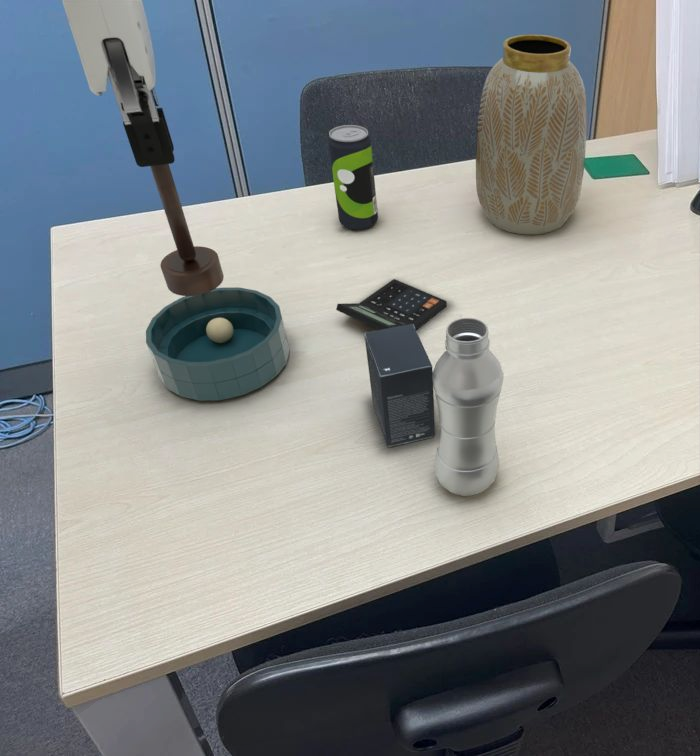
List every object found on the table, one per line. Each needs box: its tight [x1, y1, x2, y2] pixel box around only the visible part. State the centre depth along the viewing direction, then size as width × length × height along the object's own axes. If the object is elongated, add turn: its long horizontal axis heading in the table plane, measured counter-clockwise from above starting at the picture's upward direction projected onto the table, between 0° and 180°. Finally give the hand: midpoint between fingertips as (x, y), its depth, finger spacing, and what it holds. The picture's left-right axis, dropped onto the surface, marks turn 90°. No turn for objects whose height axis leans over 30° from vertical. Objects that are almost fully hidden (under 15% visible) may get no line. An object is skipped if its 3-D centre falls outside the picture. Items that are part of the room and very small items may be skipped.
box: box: [363, 324, 436, 448], centre depth 77 cm, size 8×6×11 cm
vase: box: [475, 34, 588, 236], centre depth 109 cm, size 17×17×27 cm
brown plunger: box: [139, 96, 225, 297], centre depth 67 cm, size 6×6×19 cm
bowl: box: [145, 286, 290, 402], centre depth 85 cm, size 15×15×6 cm
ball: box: [206, 318, 234, 343], centre depth 88 cm, size 3×3×3 cm
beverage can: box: [327, 124, 379, 232], centre depth 109 cm, size 6×6×15 cm
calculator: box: [335, 278, 448, 331], centre depth 95 cm, size 9×12×3 cm
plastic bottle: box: [432, 317, 504, 497], centre depth 68 cm, size 6×7×20 cm
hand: (156, 157), depth 65 cm, fingers closed on brown plunger
